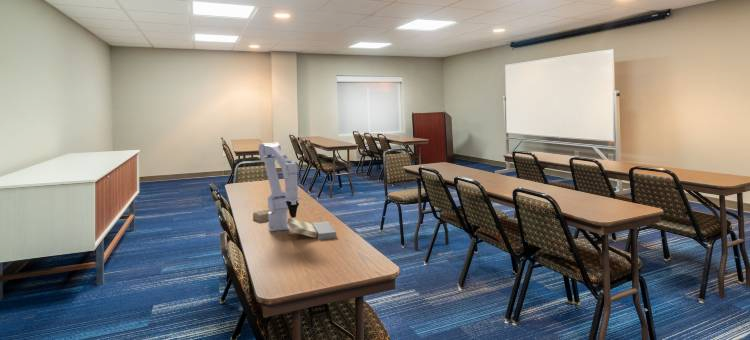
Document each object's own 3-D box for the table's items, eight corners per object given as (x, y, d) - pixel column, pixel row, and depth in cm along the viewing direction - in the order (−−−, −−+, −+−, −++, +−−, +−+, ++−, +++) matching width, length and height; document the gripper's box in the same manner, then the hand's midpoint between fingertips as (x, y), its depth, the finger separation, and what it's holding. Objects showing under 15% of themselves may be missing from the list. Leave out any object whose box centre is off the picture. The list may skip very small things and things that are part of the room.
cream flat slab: (290, 231, 194) (292, 226, 194) (287, 222, 210) (288, 218, 209) (315, 237, 198) (317, 232, 198) (310, 228, 213) (312, 223, 213)
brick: (259, 222, 229) (259, 214, 228) (252, 219, 235) (251, 211, 234) (286, 216, 240) (286, 208, 240) (278, 214, 246) (278, 206, 246)
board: (319, 239, 197) (318, 233, 196) (312, 228, 216) (312, 222, 215) (336, 237, 199) (335, 231, 199) (328, 226, 218) (327, 221, 218)
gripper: (302, 190, 194) (303, 219, 196) (298, 185, 208) (299, 212, 210) (286, 191, 192) (287, 220, 194) (283, 186, 206) (284, 213, 208)
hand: (292, 216), depth 202 cm, fingers open, 3 cm apart
